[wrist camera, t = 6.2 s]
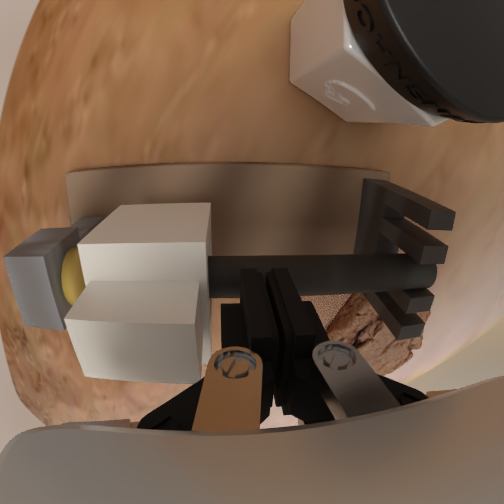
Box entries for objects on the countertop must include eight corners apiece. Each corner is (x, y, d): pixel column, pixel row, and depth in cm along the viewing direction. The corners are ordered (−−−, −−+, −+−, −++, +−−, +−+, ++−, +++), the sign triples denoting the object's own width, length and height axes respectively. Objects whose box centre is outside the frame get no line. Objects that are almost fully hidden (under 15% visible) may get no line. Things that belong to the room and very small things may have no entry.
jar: (256, 66, 16) (307, -15, 5) (320, -17, 14) (407, -110, 3) (368, 144, 19) (505, 180, 8) (419, 61, 16) (550, 46, 5)
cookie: (349, 382, 28) (358, 403, 25) (305, 314, 24) (315, 337, 21) (431, 330, 27) (446, 348, 24) (409, 249, 23) (429, 265, 20)
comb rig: (381, 170, 19) (472, 206, 11) (366, 274, 23) (428, 350, 14) (73, 170, 17) (-14, 208, 9) (88, 277, 21) (33, 359, 12)
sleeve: (210, 202, 14) (200, 277, 7) (213, 297, 16) (211, 409, 10) (120, 205, 14) (44, 276, 7) (132, 297, 16) (91, 401, 9)
